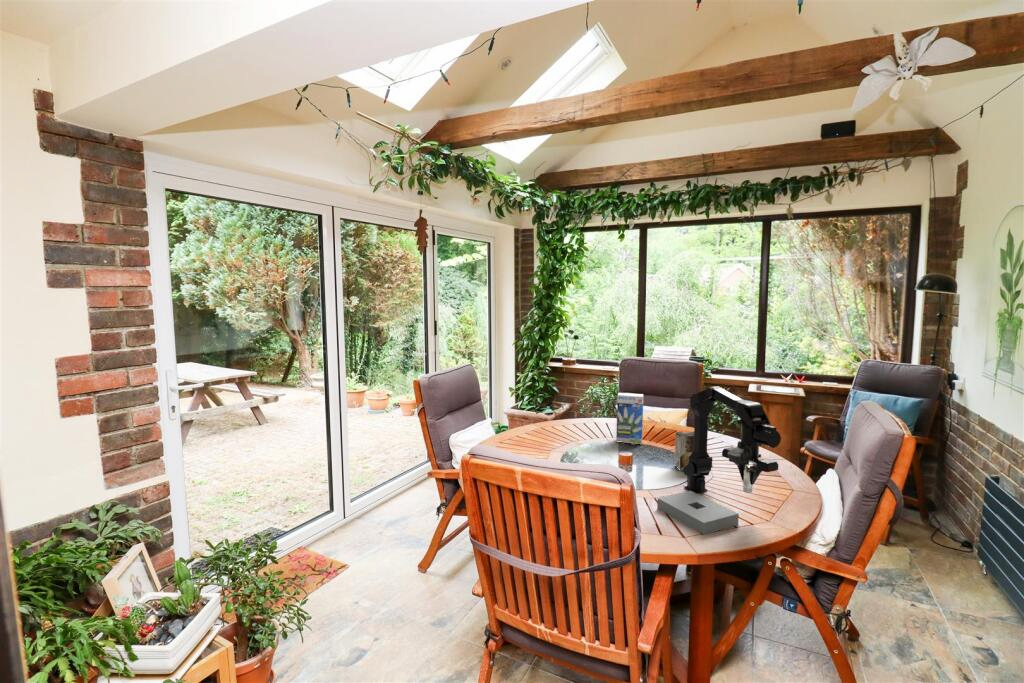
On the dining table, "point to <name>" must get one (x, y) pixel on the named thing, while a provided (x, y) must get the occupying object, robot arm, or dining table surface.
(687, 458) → the coffee box
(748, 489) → the steel peg
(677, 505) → the hole block
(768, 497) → the dining table surface
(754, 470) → the robot arm
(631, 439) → the string lights box
